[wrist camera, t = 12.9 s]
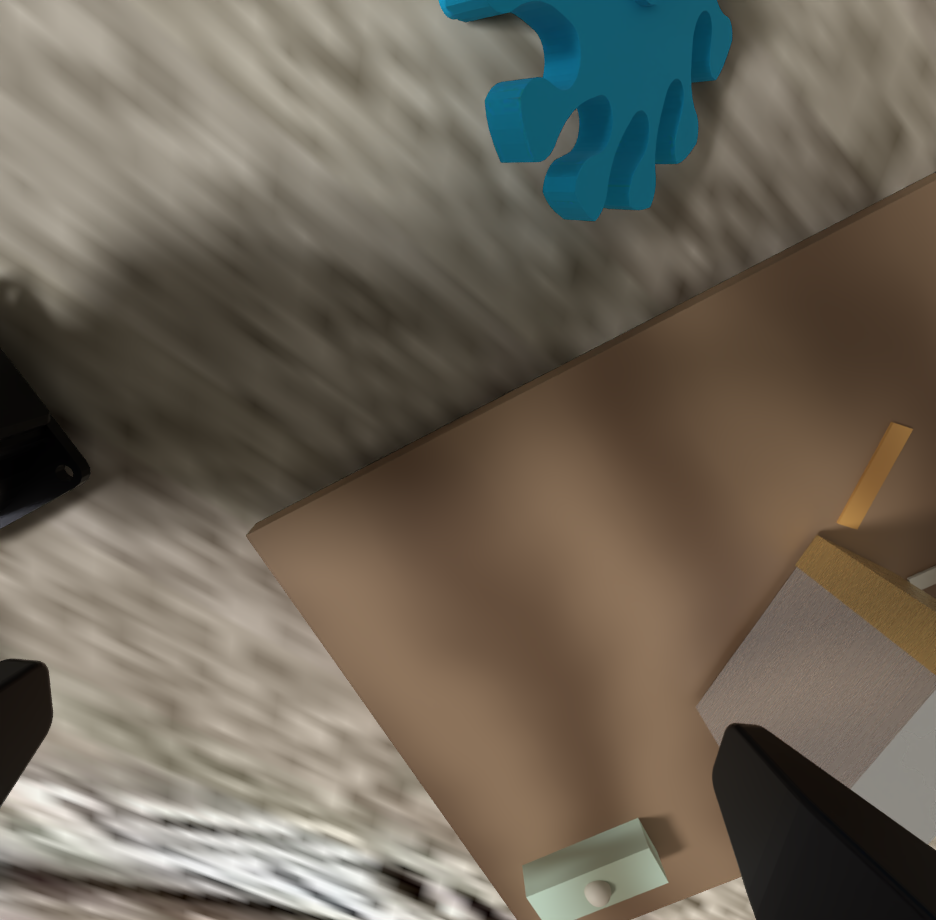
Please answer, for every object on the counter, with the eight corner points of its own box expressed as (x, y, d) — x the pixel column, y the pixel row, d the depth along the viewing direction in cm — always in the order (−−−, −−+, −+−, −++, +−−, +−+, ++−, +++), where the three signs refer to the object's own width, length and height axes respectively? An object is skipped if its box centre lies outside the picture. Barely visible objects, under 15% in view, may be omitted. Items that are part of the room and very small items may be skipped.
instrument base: (537, 928, 24) (548, 1004, 21) (256, 522, 18) (224, 560, 16) (1086, 711, 21) (1173, 768, 19) (966, 156, 16) (1068, 128, 13)
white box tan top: (765, 735, 20) (882, 898, 14) (693, 705, 19) (787, 863, 14) (891, 571, 18) (1080, 688, 13) (816, 534, 17) (979, 640, 12)
